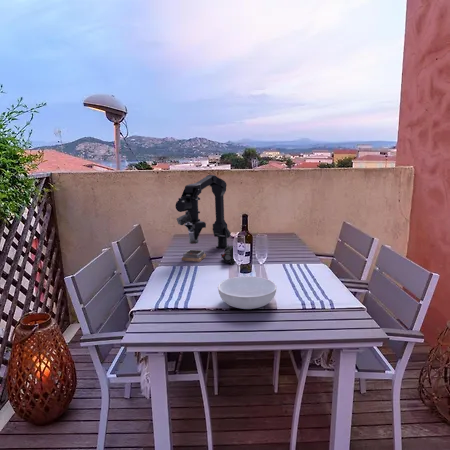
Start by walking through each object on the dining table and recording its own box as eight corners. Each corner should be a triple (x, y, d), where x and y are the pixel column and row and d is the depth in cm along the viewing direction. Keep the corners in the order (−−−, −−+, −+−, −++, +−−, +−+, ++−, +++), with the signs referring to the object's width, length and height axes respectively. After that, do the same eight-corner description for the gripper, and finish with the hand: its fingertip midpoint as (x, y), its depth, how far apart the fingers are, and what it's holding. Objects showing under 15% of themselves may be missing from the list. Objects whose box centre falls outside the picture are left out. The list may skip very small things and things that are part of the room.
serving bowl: (241, 288, 138) (241, 272, 137) (287, 301, 125) (287, 283, 124) (206, 305, 122) (205, 287, 121) (254, 322, 109) (254, 302, 108)
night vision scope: (231, 260, 185) (245, 249, 183) (226, 271, 168) (241, 259, 166) (222, 249, 185) (236, 238, 182) (215, 259, 168) (231, 247, 165)
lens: (190, 241, 183) (190, 228, 182) (200, 241, 182) (199, 228, 180) (187, 243, 178) (186, 230, 177) (196, 243, 177) (196, 230, 175)
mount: (188, 255, 187) (188, 248, 187) (206, 256, 185) (205, 249, 184) (181, 260, 178) (181, 253, 177) (199, 261, 175) (199, 254, 175)
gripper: (171, 208, 181) (172, 237, 183) (185, 213, 165) (186, 244, 168) (190, 206, 186) (191, 234, 189) (206, 211, 170) (206, 241, 173)
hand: (193, 238), depth 179 cm, fingers closed on lens, 5 cm apart
